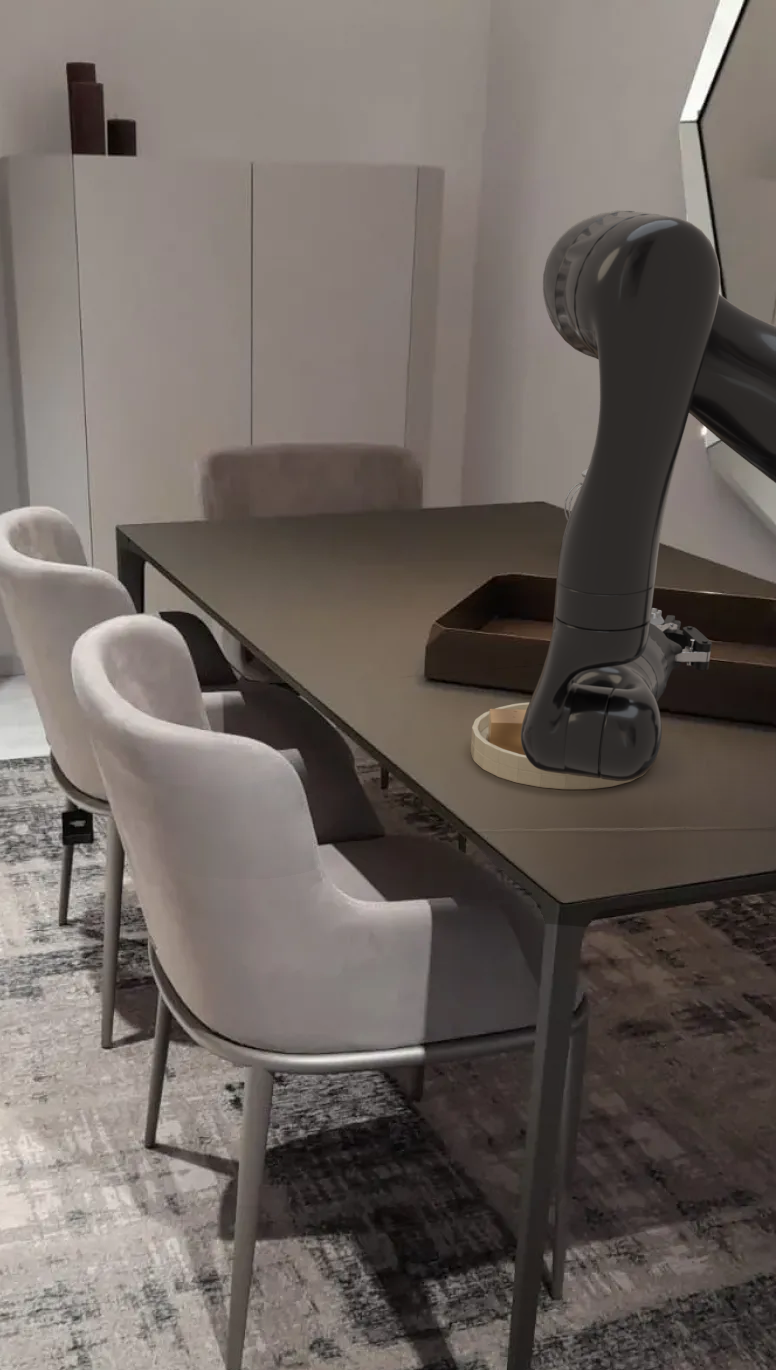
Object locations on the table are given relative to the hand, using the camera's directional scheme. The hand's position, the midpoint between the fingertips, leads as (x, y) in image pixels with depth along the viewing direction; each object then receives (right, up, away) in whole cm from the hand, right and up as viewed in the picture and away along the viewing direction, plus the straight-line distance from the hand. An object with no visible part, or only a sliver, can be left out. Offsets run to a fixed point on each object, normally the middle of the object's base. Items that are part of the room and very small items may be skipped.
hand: (649, 623), depth 134 cm
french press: (+18, +31, +103) cm, 109 cm away
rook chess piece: (-1, -7, 0) cm, 7 cm away
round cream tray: (-6, -12, +16) cm, 21 cm away
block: (-11, -11, +16) cm, 22 cm away
